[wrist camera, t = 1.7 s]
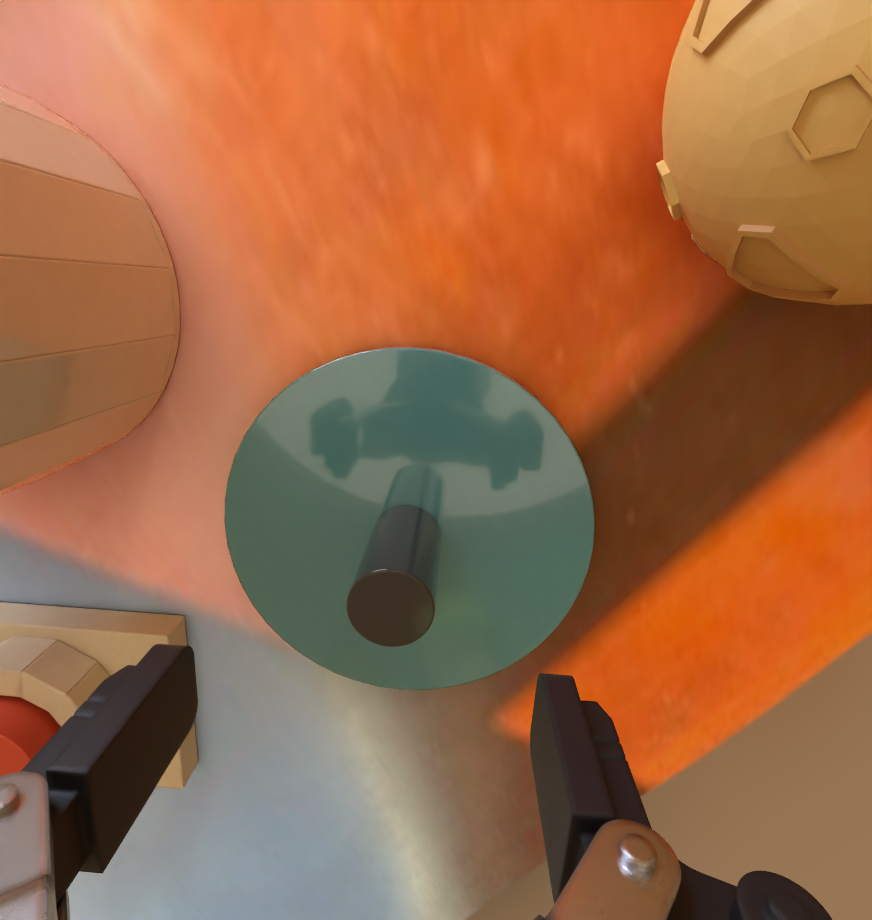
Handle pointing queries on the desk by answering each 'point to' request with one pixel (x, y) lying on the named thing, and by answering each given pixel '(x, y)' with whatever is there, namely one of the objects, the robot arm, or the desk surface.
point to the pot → (74, 297)
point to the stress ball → (775, 144)
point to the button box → (82, 660)
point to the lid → (409, 518)
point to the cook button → (22, 732)
